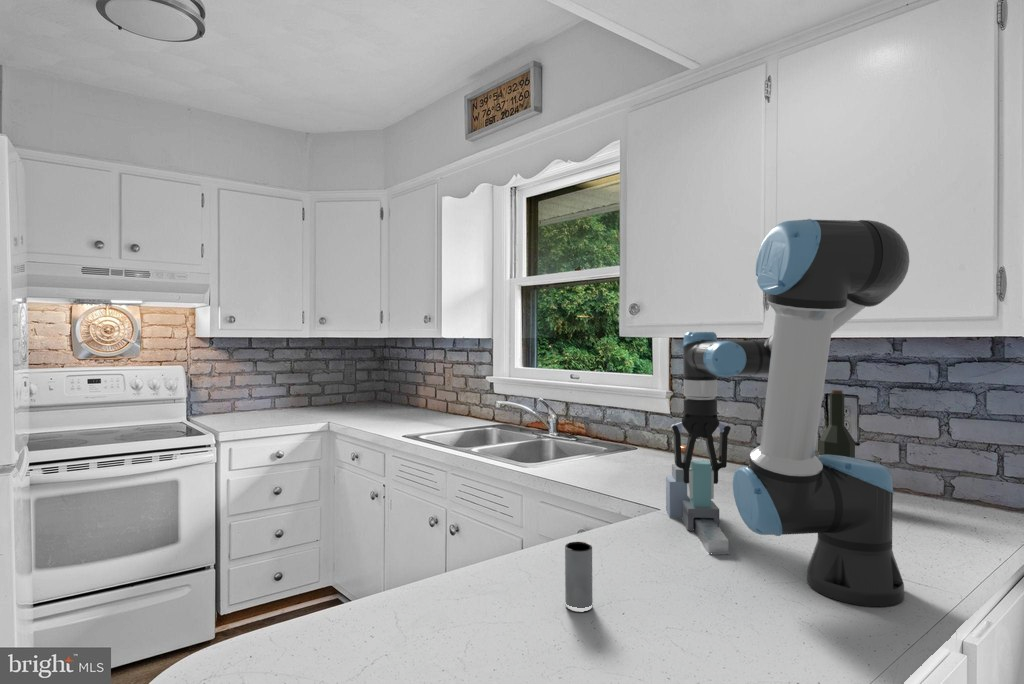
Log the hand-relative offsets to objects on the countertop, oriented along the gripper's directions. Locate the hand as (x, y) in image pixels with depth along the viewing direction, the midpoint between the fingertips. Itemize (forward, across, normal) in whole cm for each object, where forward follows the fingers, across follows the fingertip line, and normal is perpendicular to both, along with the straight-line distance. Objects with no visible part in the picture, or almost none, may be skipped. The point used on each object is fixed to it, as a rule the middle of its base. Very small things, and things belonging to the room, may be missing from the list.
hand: (700, 496), depth 143 cm
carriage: (+7, 0, 0) cm, 7 cm away
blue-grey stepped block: (+7, +2, -10) cm, 12 cm away
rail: (+7, 0, +6) cm, 9 cm away
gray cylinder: (+7, +29, +44) cm, 53 cm away
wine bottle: (+7, -40, -22) cm, 46 cm away
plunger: (-2, +1, -10) cm, 10 cm away
